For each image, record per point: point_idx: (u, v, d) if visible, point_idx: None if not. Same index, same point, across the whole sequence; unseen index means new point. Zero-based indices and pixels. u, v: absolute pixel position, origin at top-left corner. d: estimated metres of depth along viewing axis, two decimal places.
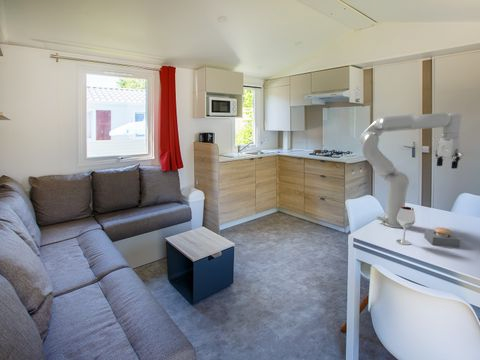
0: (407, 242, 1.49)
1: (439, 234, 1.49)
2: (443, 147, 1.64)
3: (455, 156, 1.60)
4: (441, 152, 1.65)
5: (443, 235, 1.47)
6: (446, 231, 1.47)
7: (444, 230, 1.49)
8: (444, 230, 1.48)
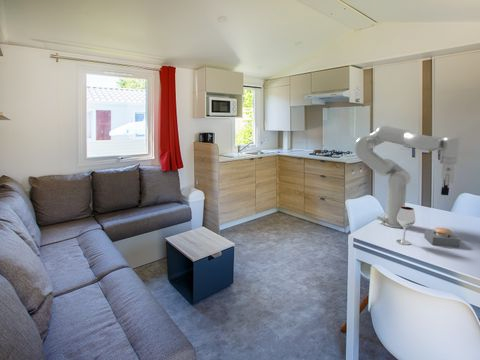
0: (407, 242, 1.49)
1: (439, 234, 1.49)
2: None
3: None
4: None
5: (443, 235, 1.47)
6: (446, 231, 1.47)
7: (444, 230, 1.49)
8: (444, 230, 1.48)
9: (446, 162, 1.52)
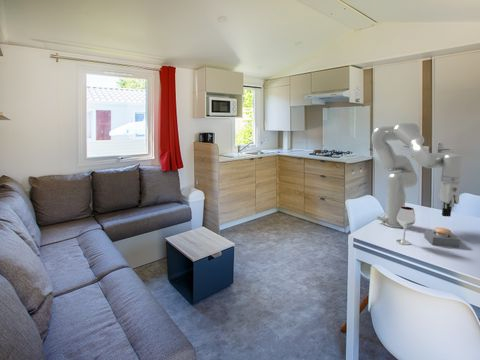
0: (407, 242, 1.49)
1: (439, 234, 1.49)
2: None
3: None
4: None
5: (443, 235, 1.47)
6: (446, 231, 1.47)
7: (444, 230, 1.49)
8: (444, 230, 1.48)
9: (451, 182, 1.41)
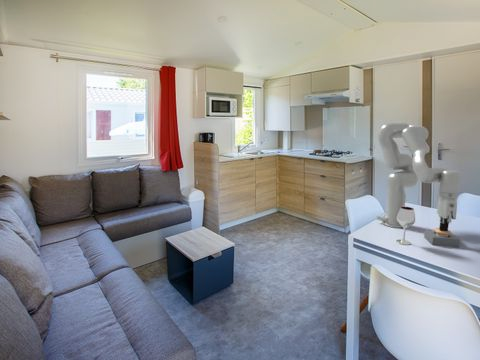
0: (407, 242, 1.49)
1: (439, 235, 1.49)
2: None
3: (443, 217, 1.50)
4: None
5: (443, 236, 1.47)
6: (446, 232, 1.47)
7: (444, 231, 1.49)
8: (444, 231, 1.48)
9: (448, 198, 1.43)
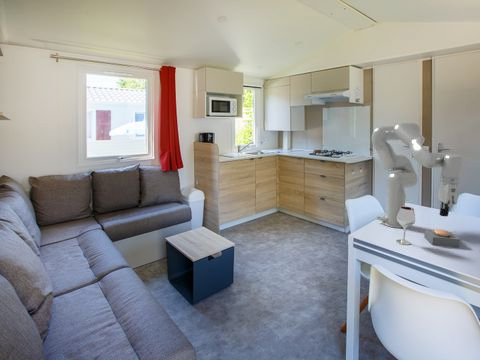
0: (407, 242, 1.49)
1: None
2: None
3: None
4: None
5: None
6: (446, 233, 1.47)
7: (444, 232, 1.49)
8: (444, 232, 1.48)
9: (450, 182, 1.41)
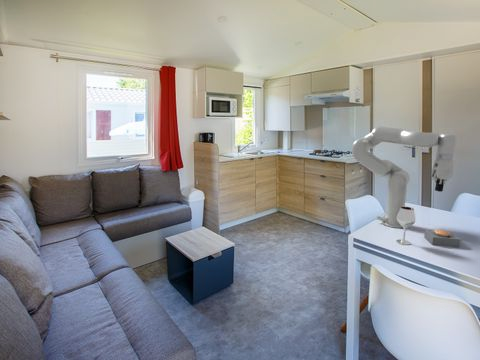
0: (407, 242, 1.49)
1: None
2: (446, 169, 1.55)
3: (443, 179, 1.60)
4: (444, 175, 1.55)
5: None
6: (446, 233, 1.47)
7: (444, 232, 1.49)
8: (444, 232, 1.48)
9: (437, 158, 1.56)
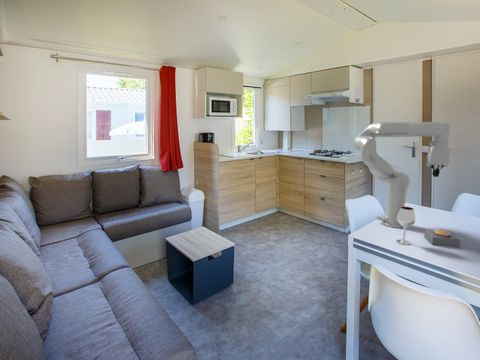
0: (407, 242, 1.49)
1: None
2: (438, 155, 1.66)
3: None
4: (436, 160, 1.67)
5: None
6: (446, 233, 1.47)
7: (444, 232, 1.49)
8: (444, 232, 1.48)
9: (431, 145, 1.70)
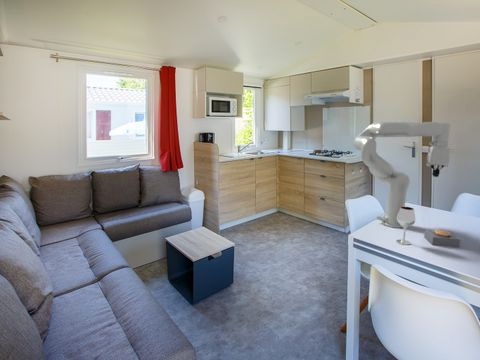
0: (407, 242, 1.49)
1: None
2: (438, 155, 1.66)
3: None
4: (436, 160, 1.67)
5: None
6: (446, 233, 1.47)
7: (444, 232, 1.49)
8: (444, 232, 1.48)
9: (431, 145, 1.70)
